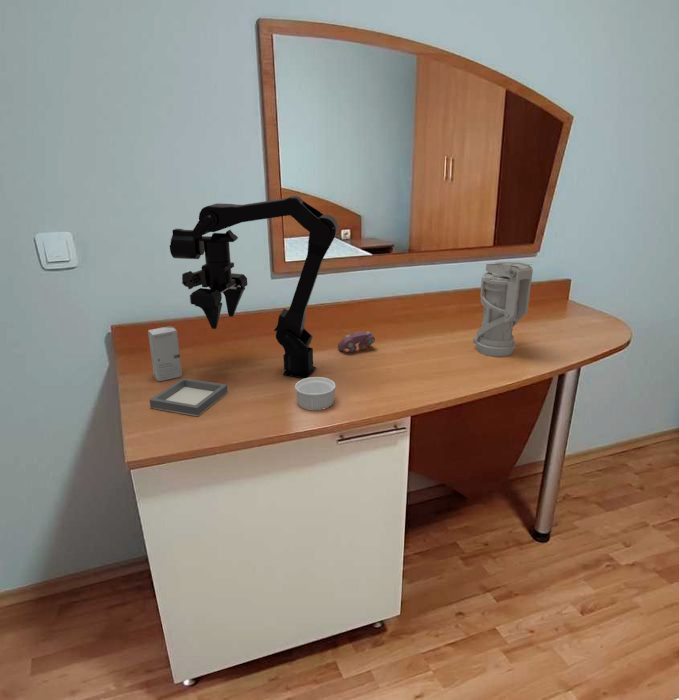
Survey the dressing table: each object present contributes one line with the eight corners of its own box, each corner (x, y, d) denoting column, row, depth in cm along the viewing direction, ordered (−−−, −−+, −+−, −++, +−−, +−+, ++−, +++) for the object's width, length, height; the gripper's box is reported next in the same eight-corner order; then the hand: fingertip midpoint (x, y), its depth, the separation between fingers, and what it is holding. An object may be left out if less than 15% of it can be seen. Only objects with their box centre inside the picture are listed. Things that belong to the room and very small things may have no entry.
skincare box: (158, 382, 124) (151, 335, 119) (153, 376, 127) (146, 329, 123) (183, 376, 127) (177, 330, 123) (178, 370, 130) (172, 325, 126)
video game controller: (341, 359, 141) (346, 341, 136) (335, 347, 144) (339, 329, 139) (373, 353, 145) (379, 335, 140) (366, 342, 147) (372, 324, 142)
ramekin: (339, 409, 110) (339, 391, 109) (298, 414, 108) (297, 395, 107) (331, 392, 118) (331, 375, 117) (293, 396, 117) (292, 378, 115)
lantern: (467, 347, 144) (475, 258, 135) (496, 341, 148) (505, 255, 139) (499, 363, 133) (510, 267, 124) (529, 356, 137) (542, 263, 128)
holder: (227, 392, 118) (227, 384, 117) (197, 416, 108) (196, 408, 107) (183, 385, 122) (182, 377, 121) (150, 408, 111) (149, 399, 111)
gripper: (206, 249, 130) (211, 307, 137) (165, 266, 114) (173, 332, 120) (246, 252, 128) (249, 311, 134) (211, 270, 111) (216, 337, 117)
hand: (222, 322), depth 126 cm, fingers open, 9 cm apart
